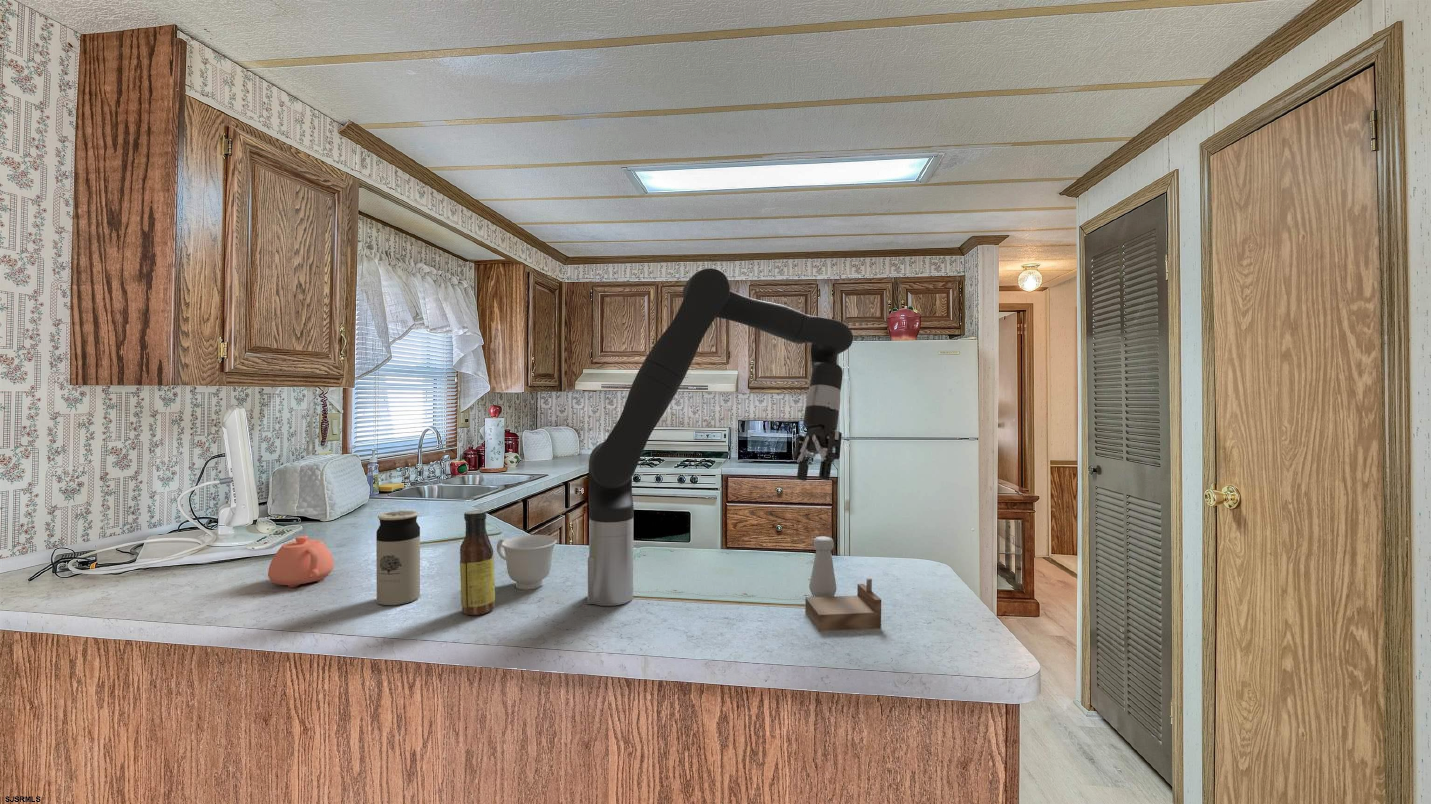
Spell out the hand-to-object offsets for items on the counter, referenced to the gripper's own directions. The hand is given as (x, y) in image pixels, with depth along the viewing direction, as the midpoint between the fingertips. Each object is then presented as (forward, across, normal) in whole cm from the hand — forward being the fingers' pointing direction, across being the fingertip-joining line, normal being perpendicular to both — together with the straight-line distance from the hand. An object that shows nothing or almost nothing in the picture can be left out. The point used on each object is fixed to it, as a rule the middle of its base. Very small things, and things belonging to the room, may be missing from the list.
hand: (812, 479), depth 126 cm
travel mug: (+40, -36, -73) cm, 91 cm away
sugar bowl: (+42, -57, -94) cm, 118 cm away
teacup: (+34, -35, -49) cm, 69 cm away
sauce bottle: (+38, -23, -59) cm, 74 cm away
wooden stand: (+27, +10, +4) cm, 29 cm away
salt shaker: (+24, -1, +8) cm, 25 cm away
